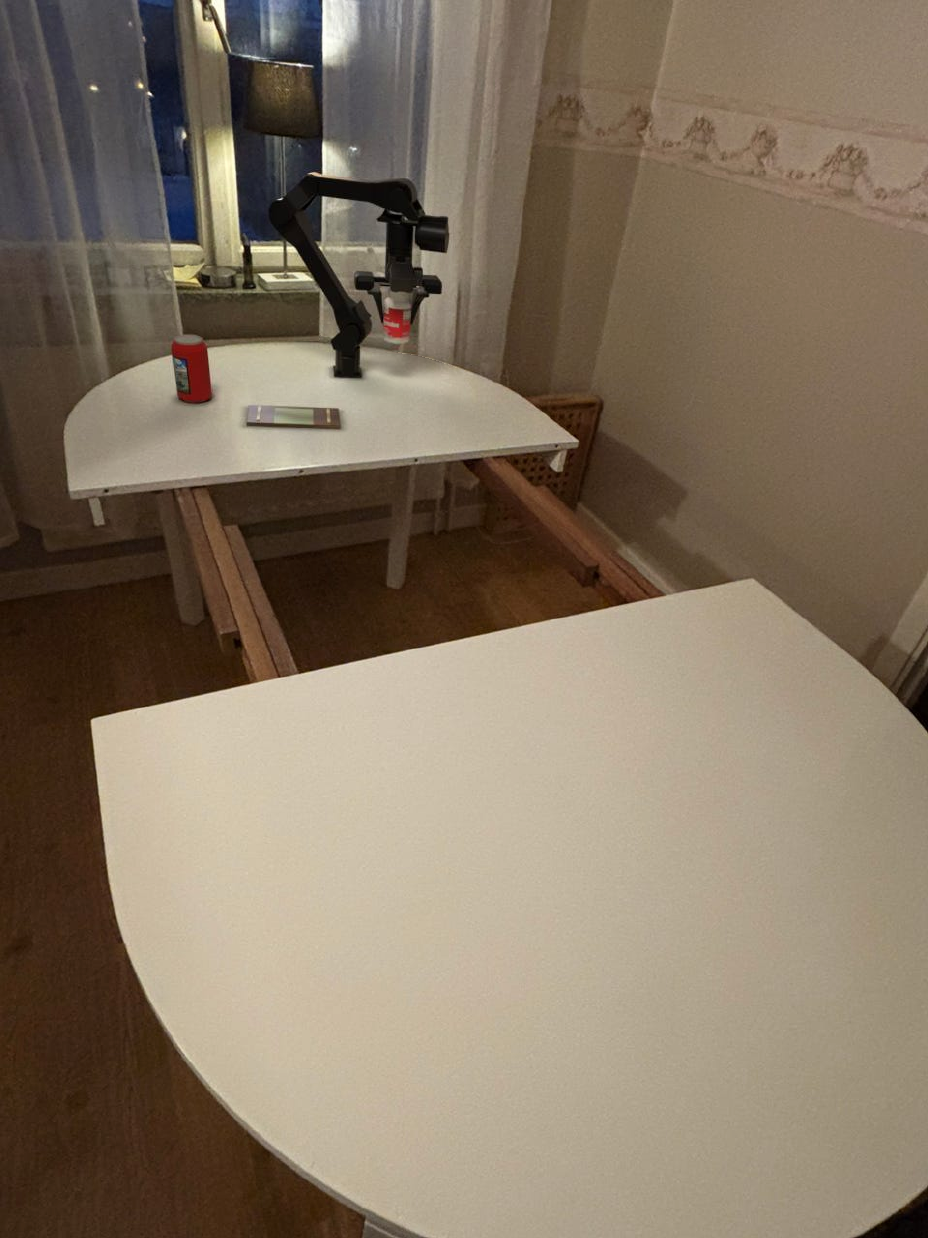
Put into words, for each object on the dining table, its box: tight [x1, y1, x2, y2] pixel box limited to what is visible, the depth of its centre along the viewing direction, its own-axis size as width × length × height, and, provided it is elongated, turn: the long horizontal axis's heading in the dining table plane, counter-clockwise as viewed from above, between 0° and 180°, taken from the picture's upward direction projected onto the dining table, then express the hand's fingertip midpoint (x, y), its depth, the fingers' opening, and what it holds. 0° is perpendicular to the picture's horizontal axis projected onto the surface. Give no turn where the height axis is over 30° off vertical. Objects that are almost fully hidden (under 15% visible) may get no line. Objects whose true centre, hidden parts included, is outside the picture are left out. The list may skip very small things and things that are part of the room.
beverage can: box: [170, 334, 213, 404], centre depth 148 cm, size 7×7×12 cm
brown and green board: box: [245, 404, 341, 430], centre depth 148 cm, size 9×18×1 cm, turn 100°
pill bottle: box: [381, 287, 412, 345], centre depth 165 cm, size 6×6×11 cm
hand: (396, 323), depth 166 cm, fingers closed on pill bottle, 6 cm apart
